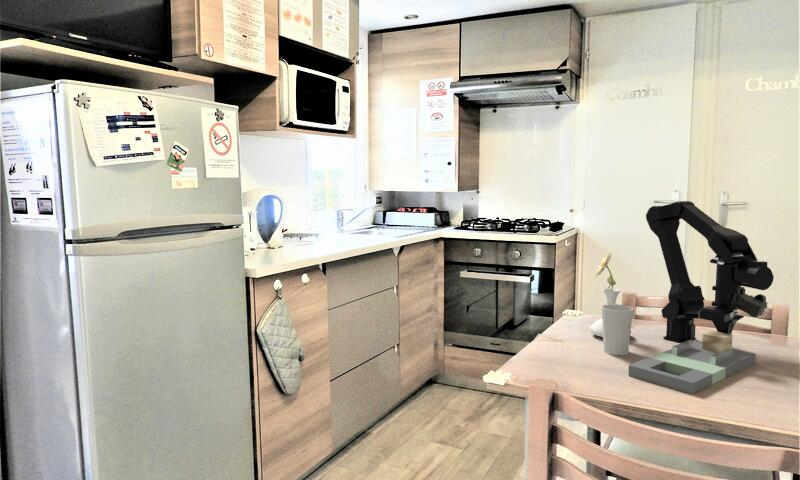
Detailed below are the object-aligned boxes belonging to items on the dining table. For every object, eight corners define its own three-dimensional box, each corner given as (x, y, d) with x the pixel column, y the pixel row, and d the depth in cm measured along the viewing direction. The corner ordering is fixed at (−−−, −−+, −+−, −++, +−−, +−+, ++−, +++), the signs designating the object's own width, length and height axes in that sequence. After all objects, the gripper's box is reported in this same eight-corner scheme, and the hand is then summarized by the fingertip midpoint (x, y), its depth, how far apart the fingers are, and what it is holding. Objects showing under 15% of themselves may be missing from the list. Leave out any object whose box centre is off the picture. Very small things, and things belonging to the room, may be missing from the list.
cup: (636, 351, 156) (638, 307, 155) (624, 358, 150) (626, 312, 149) (607, 345, 161) (609, 302, 160) (594, 352, 156) (596, 307, 154)
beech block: (702, 349, 149) (702, 333, 149) (711, 345, 152) (712, 330, 152) (722, 353, 145) (723, 338, 145) (731, 350, 148) (732, 334, 148)
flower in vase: (596, 328, 178) (599, 247, 175) (635, 334, 172) (639, 250, 169) (582, 339, 168) (584, 252, 165) (623, 345, 161) (626, 255, 158)
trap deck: (628, 375, 138) (628, 365, 138) (694, 349, 157) (694, 340, 157) (692, 394, 126) (693, 383, 126) (755, 363, 146) (755, 353, 145)
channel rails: (671, 354, 145) (672, 346, 145) (689, 347, 151) (689, 339, 150) (715, 365, 137) (715, 356, 137) (732, 357, 143) (732, 349, 142)
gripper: (747, 292, 137) (743, 357, 139) (778, 282, 149) (774, 342, 151) (699, 285, 146) (695, 346, 148) (731, 276, 158) (728, 333, 159)
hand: (725, 342), depth 151 cm, fingers closed
